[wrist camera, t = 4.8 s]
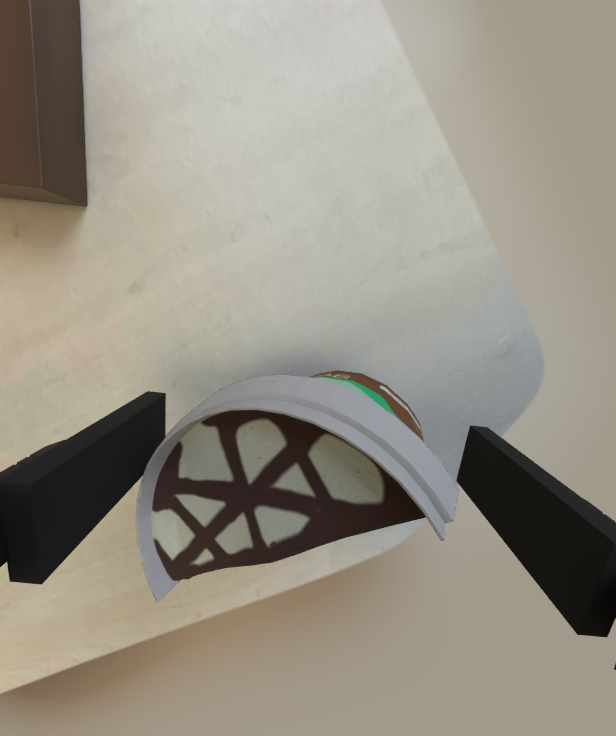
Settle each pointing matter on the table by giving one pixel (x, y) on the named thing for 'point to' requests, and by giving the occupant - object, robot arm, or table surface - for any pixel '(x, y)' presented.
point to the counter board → (41, 102)
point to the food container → (284, 475)
